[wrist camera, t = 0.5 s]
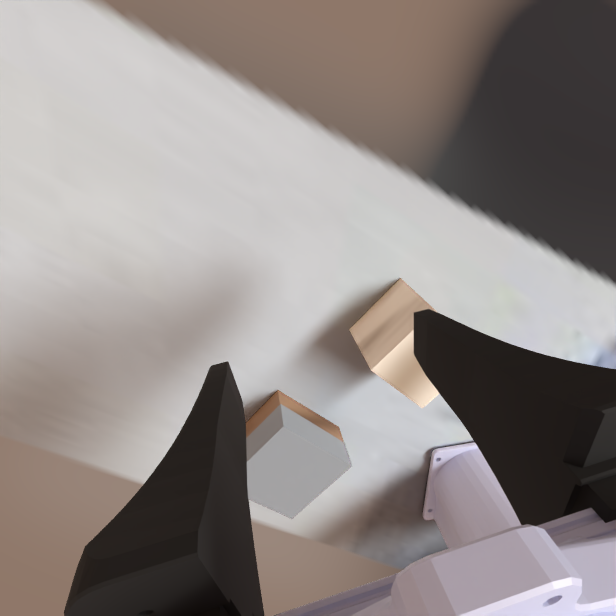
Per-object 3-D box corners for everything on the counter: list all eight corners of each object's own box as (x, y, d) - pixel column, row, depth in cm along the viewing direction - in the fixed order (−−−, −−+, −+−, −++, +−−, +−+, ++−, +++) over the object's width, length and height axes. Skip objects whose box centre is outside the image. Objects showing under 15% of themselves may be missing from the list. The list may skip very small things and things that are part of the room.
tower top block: (344, 442, 28) (352, 466, 26) (288, 493, 29) (292, 518, 27) (280, 403, 25) (283, 426, 23) (222, 461, 27) (221, 487, 25)
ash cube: (442, 317, 26) (483, 355, 22) (393, 364, 27) (422, 408, 23) (399, 277, 24) (434, 309, 20) (348, 329, 25) (370, 370, 21)
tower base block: (337, 423, 30) (344, 443, 28) (286, 471, 31) (289, 493, 29) (277, 386, 27) (279, 405, 25) (224, 440, 29) (223, 463, 27)
